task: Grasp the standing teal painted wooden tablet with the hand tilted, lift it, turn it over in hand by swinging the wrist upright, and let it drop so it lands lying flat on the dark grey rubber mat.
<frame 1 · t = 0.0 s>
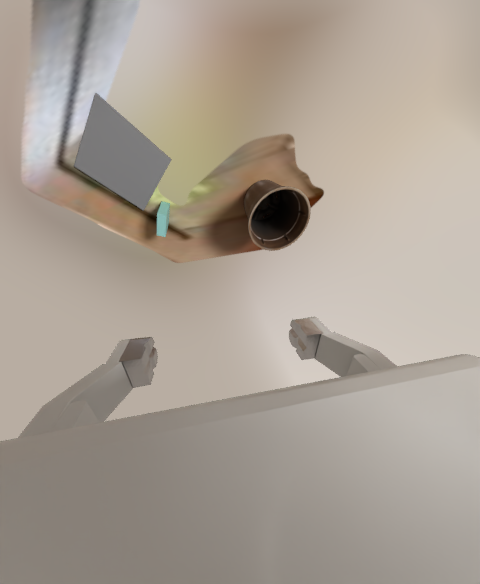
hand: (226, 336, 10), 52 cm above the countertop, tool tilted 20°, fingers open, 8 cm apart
teal board: (165, 212, 53), on the countertop
plant pot: (262, 200, 56), on the countertop
mat: (124, 162, 43), on the countertop
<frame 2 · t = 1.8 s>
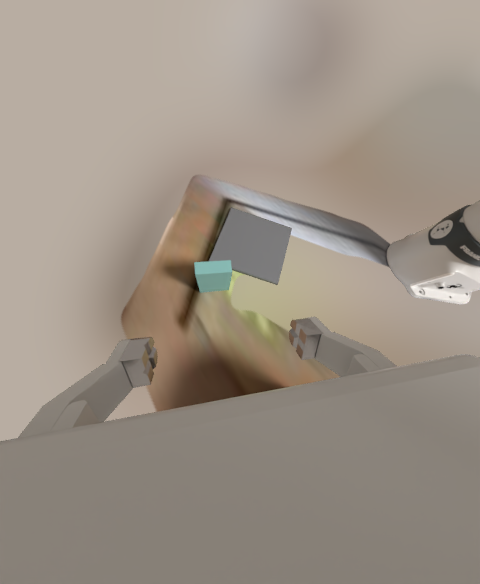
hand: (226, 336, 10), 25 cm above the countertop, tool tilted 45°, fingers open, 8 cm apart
teal board: (214, 286, 37), on the countertop
mat: (252, 244, 42), on the countertop
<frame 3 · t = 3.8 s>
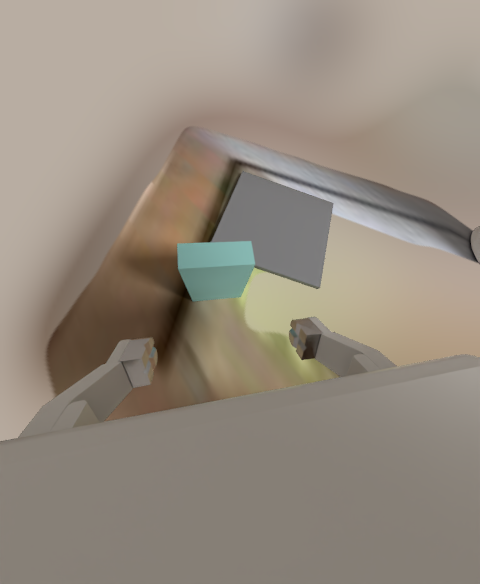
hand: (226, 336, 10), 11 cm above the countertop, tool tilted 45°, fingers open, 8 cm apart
teal board: (216, 290, 22), on the countertop
mat: (276, 226, 27), on the countertop
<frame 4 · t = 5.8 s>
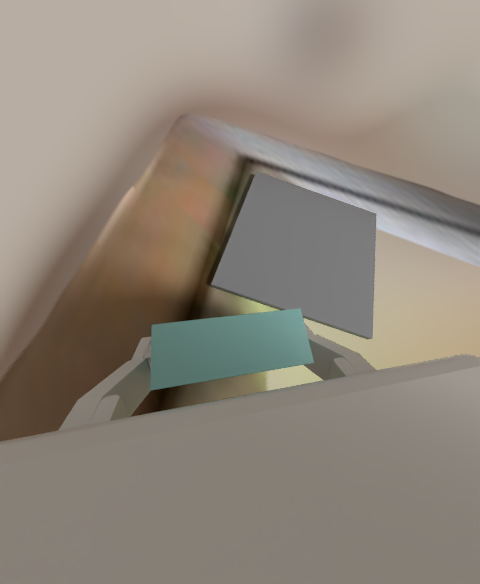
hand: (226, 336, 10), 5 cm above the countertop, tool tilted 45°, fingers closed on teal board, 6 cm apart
teal board: (224, 348, 15), on the countertop, touching gripper
mat: (303, 246, 20), on the countertop
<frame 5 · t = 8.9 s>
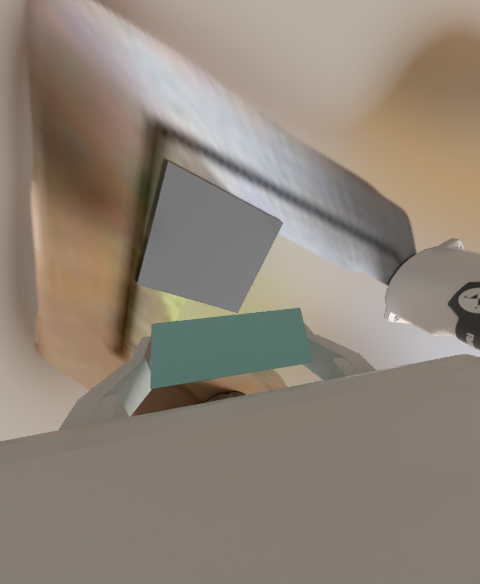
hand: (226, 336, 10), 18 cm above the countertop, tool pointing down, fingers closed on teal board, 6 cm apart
teal board: (224, 348, 15), point 14 cm above the countertop, tilted 45°, touching gripper
mat: (210, 252, 26), on the countertop
when the fingers open (6 cm above the countertop, at t = 11.1 s): teal board drops 1 cm and tips over, resting on mat.
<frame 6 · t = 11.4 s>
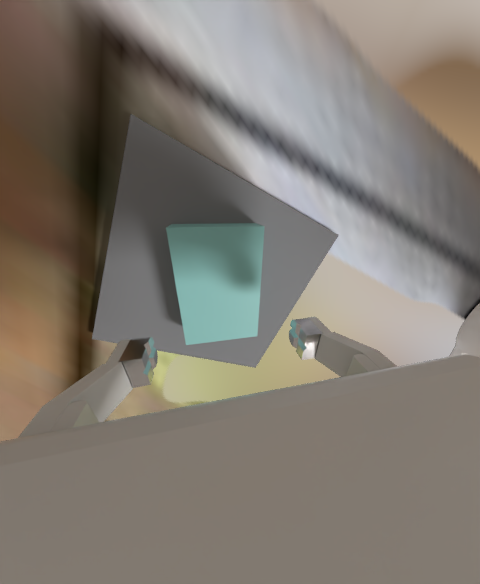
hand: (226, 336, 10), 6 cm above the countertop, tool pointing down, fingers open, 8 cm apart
teal board: (221, 332, 16), point 2 cm above the countertop, tilted 90°, touching mat
mat: (215, 283, 15), on the countertop
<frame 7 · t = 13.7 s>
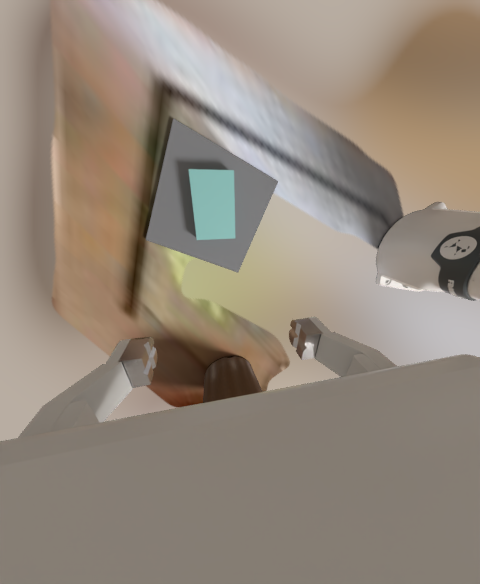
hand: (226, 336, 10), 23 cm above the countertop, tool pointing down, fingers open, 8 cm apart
teal board: (215, 238, 28), point 2 cm above the countertop, tilted 90°, touching mat
plant pot: (229, 372, 45), on the countertop
mat: (211, 210, 28), on the countertop
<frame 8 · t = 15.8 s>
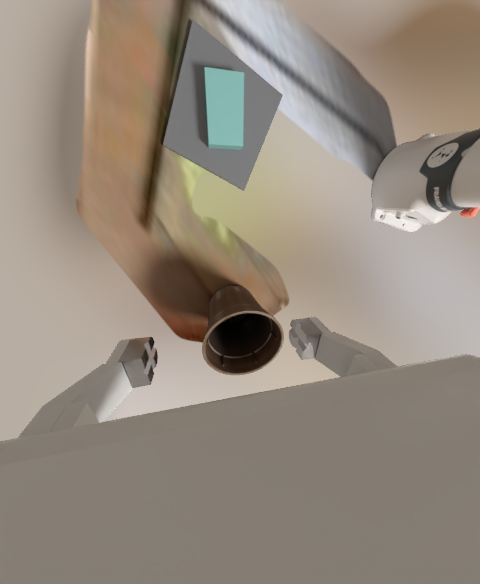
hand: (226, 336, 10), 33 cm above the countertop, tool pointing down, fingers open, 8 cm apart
teal board: (225, 147, 32), point 2 cm above the countertop, tilted 90°, touching mat
plant pot: (232, 304, 49), on the countertop
mat: (222, 121, 31), on the countertop
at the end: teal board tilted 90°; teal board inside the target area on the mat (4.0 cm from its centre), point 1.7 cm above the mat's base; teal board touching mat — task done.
